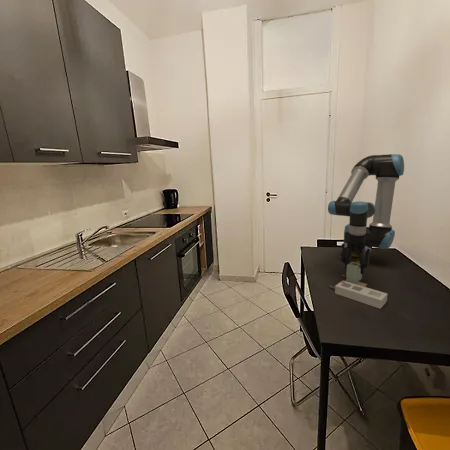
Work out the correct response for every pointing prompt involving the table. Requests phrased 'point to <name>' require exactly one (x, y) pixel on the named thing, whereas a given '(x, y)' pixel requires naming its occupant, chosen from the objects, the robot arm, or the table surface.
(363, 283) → the cork coaster
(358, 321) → the table surface
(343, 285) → the power strip
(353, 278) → the block
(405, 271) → the table surface
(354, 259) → the condiment
